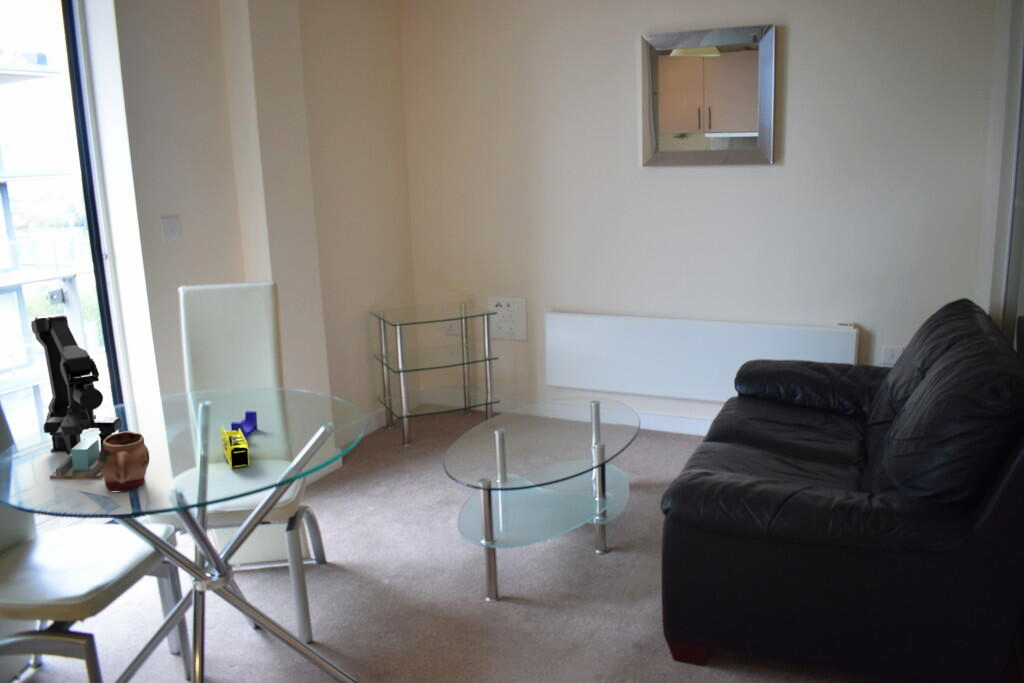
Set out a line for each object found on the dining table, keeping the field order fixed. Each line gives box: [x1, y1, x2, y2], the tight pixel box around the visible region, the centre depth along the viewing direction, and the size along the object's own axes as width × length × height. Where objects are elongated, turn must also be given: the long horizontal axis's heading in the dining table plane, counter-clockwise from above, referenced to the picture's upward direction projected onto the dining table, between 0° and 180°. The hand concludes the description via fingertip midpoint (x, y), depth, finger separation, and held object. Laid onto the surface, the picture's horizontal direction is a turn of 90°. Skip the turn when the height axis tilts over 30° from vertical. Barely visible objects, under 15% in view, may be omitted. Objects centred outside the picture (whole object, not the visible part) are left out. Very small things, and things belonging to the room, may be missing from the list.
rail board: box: [49, 454, 104, 480], centre depth 240 cm, size 13×16×3 cm
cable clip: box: [230, 410, 258, 439], centre depth 268 cm, size 12×4×6 cm, turn 173°
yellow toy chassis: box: [220, 425, 250, 469], centre depth 249 cm, size 16×6×8 cm, turn 26°
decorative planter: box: [98, 430, 150, 492], centre depth 226 cm, size 20×12×14 cm, turn 25°
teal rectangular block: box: [70, 438, 100, 470], centre depth 240 cm, size 4×8×6 cm, turn 3°
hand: (85, 454), depth 240 cm, fingers open, 9 cm apart
